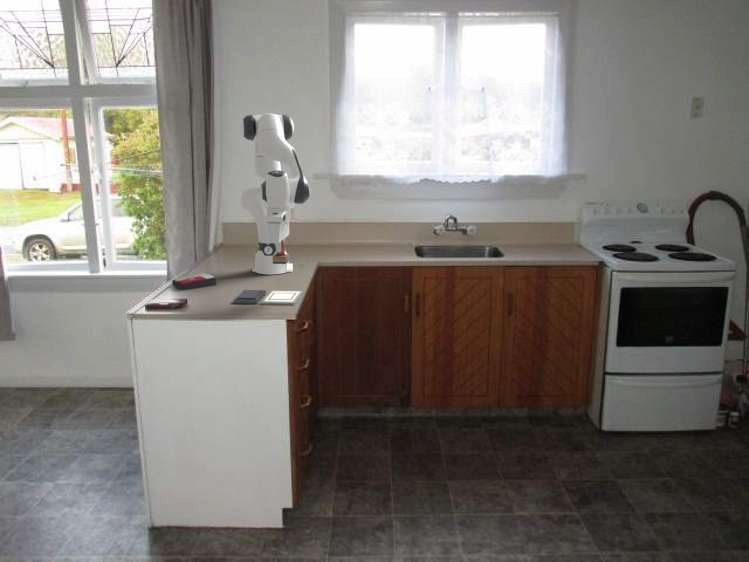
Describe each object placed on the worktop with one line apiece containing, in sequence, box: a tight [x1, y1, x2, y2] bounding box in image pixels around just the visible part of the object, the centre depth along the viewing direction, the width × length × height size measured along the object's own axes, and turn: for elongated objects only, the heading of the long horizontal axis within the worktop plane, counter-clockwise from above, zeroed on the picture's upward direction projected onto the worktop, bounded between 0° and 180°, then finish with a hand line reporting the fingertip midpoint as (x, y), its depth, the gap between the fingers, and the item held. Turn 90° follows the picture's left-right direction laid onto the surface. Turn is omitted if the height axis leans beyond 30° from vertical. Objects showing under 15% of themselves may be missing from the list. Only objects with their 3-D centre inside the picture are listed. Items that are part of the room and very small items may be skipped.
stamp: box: [273, 239, 290, 264], centre depth 235 cm, size 6×5×9 cm
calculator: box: [171, 272, 218, 292], centre depth 261 cm, size 11×4×15 cm
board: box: [259, 290, 304, 306], centre depth 239 cm, size 18×13×1 cm
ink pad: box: [232, 289, 267, 305], centre depth 239 cm, size 14×9×2 cm, turn 176°
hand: (280, 250), depth 235 cm, fingers closed on stamp, 3 cm apart
